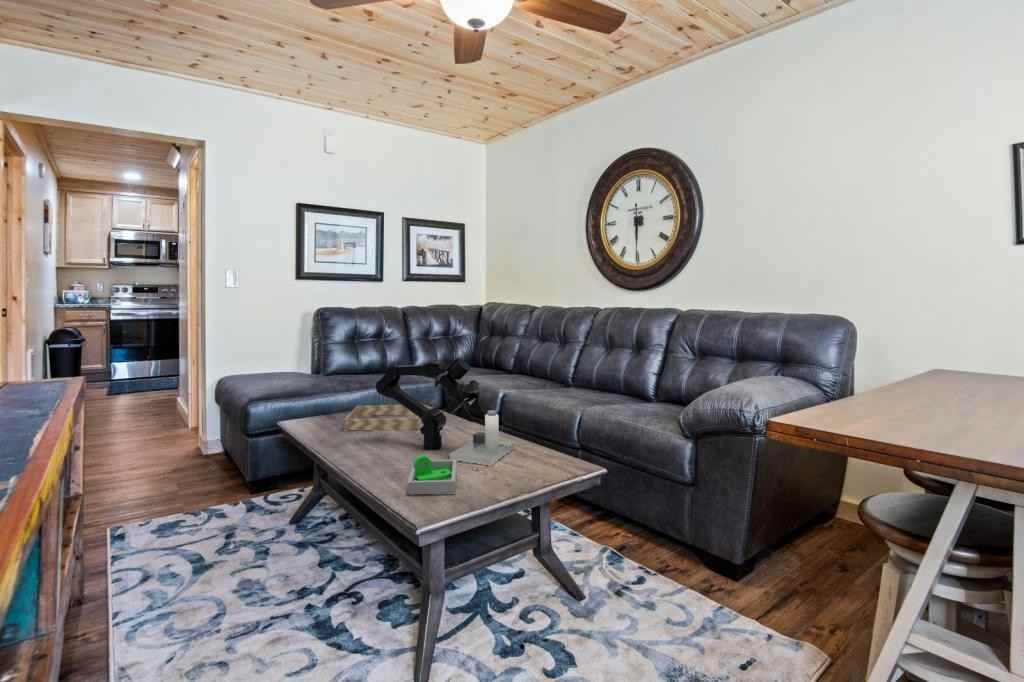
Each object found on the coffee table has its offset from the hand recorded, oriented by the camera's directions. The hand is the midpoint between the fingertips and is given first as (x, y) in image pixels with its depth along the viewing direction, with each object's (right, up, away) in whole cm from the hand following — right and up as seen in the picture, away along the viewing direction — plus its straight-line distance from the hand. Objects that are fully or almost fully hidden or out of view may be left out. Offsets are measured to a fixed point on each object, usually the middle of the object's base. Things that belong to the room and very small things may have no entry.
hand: (478, 418), depth 200 cm
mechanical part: (-13, -17, -25) cm, 33 cm away
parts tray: (-13, -16, -28) cm, 35 cm away
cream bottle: (+5, -11, -1) cm, 12 cm away
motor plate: (+2, -14, +1) cm, 14 cm away
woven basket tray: (-46, -9, +48) cm, 67 cm away
